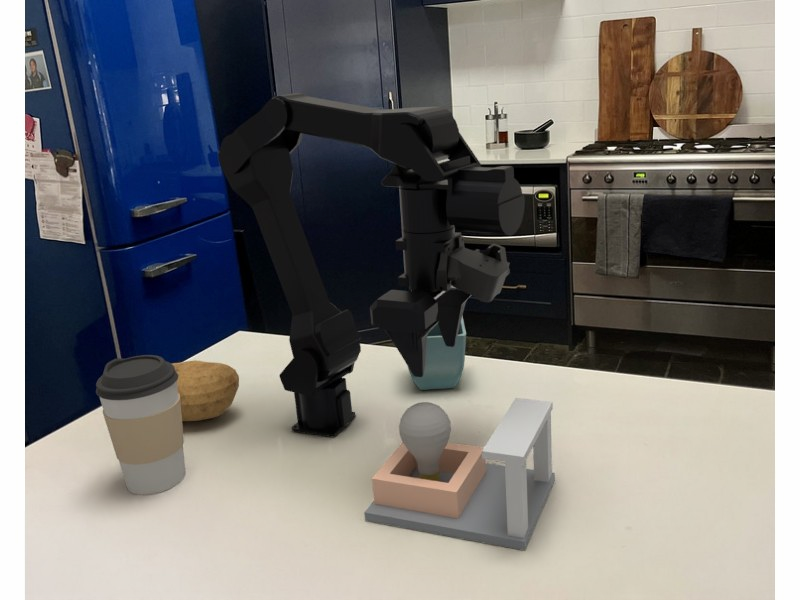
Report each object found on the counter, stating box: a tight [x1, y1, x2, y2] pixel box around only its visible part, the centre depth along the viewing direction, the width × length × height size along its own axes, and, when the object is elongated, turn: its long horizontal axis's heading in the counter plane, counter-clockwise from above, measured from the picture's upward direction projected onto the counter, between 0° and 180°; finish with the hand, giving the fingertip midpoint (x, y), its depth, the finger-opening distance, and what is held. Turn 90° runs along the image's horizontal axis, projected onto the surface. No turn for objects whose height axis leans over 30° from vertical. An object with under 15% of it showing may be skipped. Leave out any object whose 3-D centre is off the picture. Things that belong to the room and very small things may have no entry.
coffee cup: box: [95, 354, 186, 496], centre depth 90 cm, size 9×9×15 cm
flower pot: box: [407, 315, 467, 391], centre depth 111 cm, size 9×9×9 cm
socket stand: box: [363, 397, 556, 551], centre depth 81 cm, size 17×13×10 cm
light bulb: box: [398, 401, 452, 481], centre depth 82 cm, size 6×6×10 cm
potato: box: [170, 359, 240, 422], centre depth 106 cm, size 10×14×8 cm
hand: (435, 360), depth 88 cm, fingers open, 9 cm apart
